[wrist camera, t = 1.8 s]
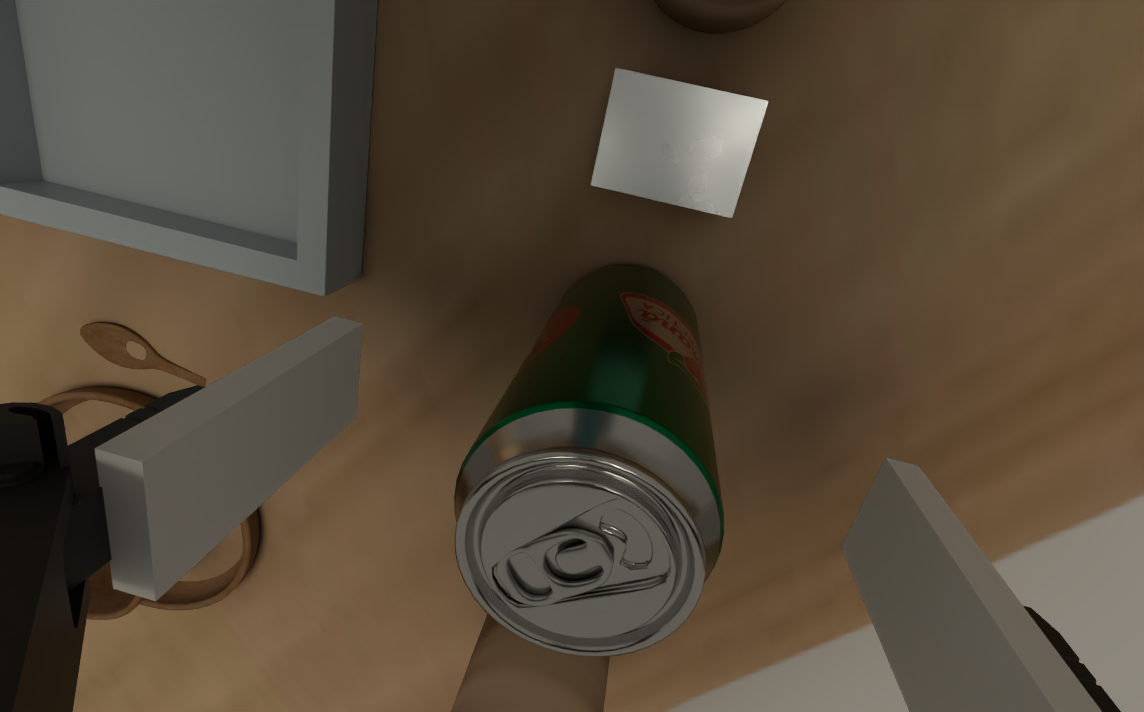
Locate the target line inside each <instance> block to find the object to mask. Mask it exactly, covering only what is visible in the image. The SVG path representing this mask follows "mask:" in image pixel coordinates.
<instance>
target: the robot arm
mask: <svg viewBox="0 0 1144 712" xmlns="http://www.w3.org/2000/svg"><path fill="white" fill-rule="evenodd" d="M362 329H363V323H360V322H356V321H352V320H348V319H344V318H340V317H336V316H333V317H332V318H330V319H328V320H326V321H324V322H323V323H321V324H319V325H317V326H315V327H314V328H312V329H310V330H308V331H306V332H304V333H303V334H301V335H299V336H297V337H295V338H294V339H292V340H290V341H288V342H286V343H285V344H283V345H281V346H279V347H277V348H275V349H274V350H272V351H270V352H268V353H266V354H265V355H263V356H261V357H259V358H257V359H256V360H254V361H252V362H250V363H248V364H247V365H245V366H243V367H241V368H239V369H237V370H236V371H234V372H232V373H230V374H228V375H227V376H225V377H223V378H221V379H219V380H218V381H216V382H214V383H212V384H210V385H209V386H207V387H202V386H198V385H197V386H193V387H190V388H186V389H182V390H179V391H175V392H171V393H168V394H166V395H164V396H162V397H160V398H158V399H157V400H155V401H153V402H151V403H149V404H147V405H145V408H144V409H143V408H139V409H137V410H136V411H134V412H132V413H130V414H128V415H126V418H125V419H123V418H120V419H118V420H116V421H115V422H113V423H111V424H109V425H107V426H105V427H103V428H101V429H99V430H97V431H95V432H94V433H92V434H90V435H88V436H86V437H84V438H82V439H80V440H78V441H76V442H74V443H72V444H71V445H69V446H67V439H66V433H65V426H64V420H63V416H62V412H60V411H59V410H57V409H55V408H54V407H52V406H48V405H43V404H38V403H5V404H0V712H72V711H73V705H74V698H75V692H76V685H77V678H78V672H79V665H80V659H81V652H82V645H83V639H84V632H85V625H86V619H87V612H88V606H89V599H90V588H89V581H88V577H90V576H91V575H92V574H94V573H95V572H96V571H98V570H99V569H100V568H101V567H103V566H104V565H105V564H107V563H108V562H109V561H110V568H111V576H112V583H113V589H116V590H119V591H123V592H126V593H129V594H133V595H136V596H139V597H143V598H146V599H150V600H153V601H157V600H158V599H159V598H160V597H161V596H162V595H163V594H164V593H166V592H167V591H168V590H169V589H170V588H171V587H172V586H173V585H174V584H175V583H176V582H178V581H179V580H180V579H181V578H182V577H183V576H184V575H185V574H186V573H187V572H188V571H190V570H191V569H192V568H193V567H194V566H195V565H196V564H197V563H198V562H199V561H200V560H202V559H203V558H204V557H205V556H206V555H207V554H208V553H209V552H210V551H211V550H212V549H214V548H215V547H216V546H217V545H218V544H219V543H220V542H221V541H222V540H223V539H224V538H226V537H227V536H228V535H229V534H230V533H231V532H232V531H233V530H234V529H235V528H236V527H238V526H239V525H240V524H241V523H242V522H243V521H244V520H245V519H246V518H247V517H248V516H250V515H251V514H252V513H253V512H254V511H255V510H256V509H257V508H258V507H259V506H260V505H262V504H263V503H264V502H265V501H266V500H267V499H268V498H269V497H270V496H271V495H272V494H274V493H275V492H276V491H277V490H278V489H279V488H280V487H281V486H282V485H283V484H284V483H286V482H287V481H288V480H289V479H290V478H291V477H292V476H293V475H294V474H295V473H296V472H298V471H299V470H300V469H301V468H302V467H303V466H304V465H305V464H306V463H307V462H308V461H310V460H311V459H312V458H313V457H314V456H315V455H316V454H317V453H318V452H319V451H320V450H322V449H323V448H324V447H325V446H326V445H327V444H328V443H329V442H330V441H331V440H332V439H333V438H335V437H336V436H337V435H338V434H339V433H340V432H341V431H342V430H343V429H344V428H345V427H347V426H348V425H349V424H350V423H351V422H352V421H353V420H354V419H355V418H356V414H357V400H358V386H359V372H360V358H361V343H362ZM841 548H842V550H843V553H844V555H845V558H846V560H847V562H848V565H849V567H850V570H851V572H852V574H853V577H854V579H855V582H856V584H857V587H858V589H859V591H860V594H861V596H862V599H863V601H864V603H865V606H866V608H867V611H868V613H869V615H870V618H871V620H872V623H873V625H874V627H875V630H876V632H877V634H878V637H879V639H880V642H881V644H882V646H883V649H884V651H885V653H886V656H887V658H888V661H889V663H890V666H891V668H892V671H893V673H894V675H895V678H896V680H897V683H898V685H899V687H900V690H901V692H902V695H903V697H904V699H905V702H906V704H907V707H908V709H909V712H1121V711H1120V710H1119V709H1118V708H1117V706H1116V705H1115V704H1114V702H1113V701H1112V700H1111V699H1110V698H1109V696H1108V695H1107V693H1106V692H1105V691H1104V690H1103V688H1102V687H1101V686H1098V685H1096V679H1095V678H1094V677H1093V675H1092V674H1091V673H1090V672H1089V671H1088V669H1087V668H1086V667H1085V665H1084V664H1081V663H1079V658H1078V656H1077V655H1076V654H1075V652H1074V651H1073V650H1072V649H1071V647H1070V646H1069V645H1068V643H1067V642H1066V641H1065V640H1064V638H1063V637H1062V636H1061V634H1060V633H1059V632H1058V631H1056V630H1055V629H1054V628H1053V627H1051V625H1050V624H1049V623H1047V622H1046V621H1045V620H1044V619H1043V618H1041V616H1040V615H1038V614H1037V613H1036V612H1035V611H1034V610H1033V609H1032V608H1029V607H1026V606H1023V605H1022V604H1021V603H1020V601H1019V600H1018V599H1017V597H1016V596H1015V595H1014V593H1013V592H1012V591H1011V589H1010V588H1009V587H1008V585H1007V584H1006V583H1005V581H1004V580H1003V579H1002V577H1001V576H1000V575H999V573H998V572H997V571H996V569H995V568H994V567H993V565H992V564H991V562H990V561H989V560H988V558H987V557H986V556H985V554H984V553H983V552H982V550H981V549H980V548H979V546H978V545H977V544H976V542H975V541H974V540H973V538H972V537H971V536H970V534H969V533H968V532H967V530H966V529H965V528H964V526H963V525H962V524H961V522H960V521H959V520H958V518H957V517H956V516H955V514H954V513H953V512H952V510H951V509H950V508H949V506H948V505H947V504H946V502H945V501H944V500H943V498H942V497H941V496H940V494H939V493H938V492H937V490H936V489H935V488H934V486H933V485H932V484H931V482H930V481H929V480H928V478H927V477H926V476H925V474H924V473H923V472H922V470H921V469H920V468H919V466H917V465H913V464H909V463H905V462H901V461H897V460H894V459H890V458H885V460H884V462H883V464H882V466H881V468H880V470H879V472H878V474H877V476H876V478H875V480H874V482H873V484H872V486H871V488H870V490H869V492H868V494H867V496H866V499H865V501H864V503H863V505H862V507H861V509H860V511H859V513H858V515H857V517H856V519H855V521H854V523H853V525H852V527H851V529H850V531H849V533H848V535H847V537H846V539H845V541H844V543H843V545H842V547H841Z"/></svg>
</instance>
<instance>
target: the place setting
mask: <svg viewBox="0 0 1144 712" xmlns="http://www.w3.org/2000/svg"><path fill="white" fill-rule="evenodd" d="M80 335H81V336H82V338H83V339H84V340H85V342H86V343H87V344H88V345H89V346H90V347H92V348H93V349H94V350H95V351H96V352H97V353H98V354H100V355H101V356H102V357H104V358H105V359H107V360H108V361H110V362H112V363H114V364H117V365H119V366H122V367H126V368H131V369H158V370H162V371H165V372H168V373H170V374H173V375H176V376H178V377H180V378H183V379H185V380H188V381H190V382H192V383H195V384H197V385H199V386H202V387H205V385H206V379H205V378H203V377H202V376H200V375H198V374H195V373H193V372H191V371H189V370H187V369H184V368H182V367H180V366H178V365H176V364H174V363H172V362H170V361H168V360H166V359H165V358H163V357H162V356H161V355H159V354H158V353H157V352H156V350H155V349H154V348H153V347H152V346H151V345H150V344H149V343H148V342H147V341H146V340H145V339H143V338H142V337H141V336H140V335H138V334H136V333H135V332H133V331H131V330H129V329H127V328H125V327H122V326H119V325H116V324H110V323H90V324H86V325H84V326H83V327H82V328H81V329H80ZM128 341H134V342H136V343H138V344H140V345H142V346H143V347H144V348H145V350H146V358H145V359H144V360H139V359H136V358H134V357H132V356H131V355H130V354H129V353H128V352H127V350H126V343H127V342H128ZM88 400H99V401H105V402H110V403H114V404H117V405H120V406H124V407H127V408H129V409H132V410H134V411H136V410H137V409H139V408H143V409H144V408H145V405H147V404H149V403H151V402H153V401H155V400H157V399H154V398H152V397H149V396H147V395H143V394H140V393H137V392H133V391H129V390H123V389H117V388H107V387H89V388H80V389H73V390H70V391H66V392H62V393H59V394H56V395H53V396H51V397H49V398H46V399H44V400H42V401H40V402H38V404H43V405H48V406H52V407H54V408H55V409H57V410H59V411H60V412H62V415H63V414H64V413H65V412H66V411H68V410H69V409H70V408H72V407H73V406H75V405H77V404H79V403H81V402H84V401H88ZM241 529H242V535H243V554H242V557H241V558H240V560H239V561H238V562H237V563H236V564H235V565H234V566H233V567H232V568H231V569H230V570H228V571H227V572H226V573H224V574H221V575H219V576H217V577H215V578H211V579H208V580H202V581H191V582H184V581H178V582H176V583H175V584H174V585H173V586H172V587H171V588H170V589H169V590H168V591H167V592H166V593H164V594H163V595H162V596H161V597H160V598H159V599H158V600H157V601H153V600H150V599H146V598H143V597H139V596H136V595H133V594H129V593H126V592H123V591H119V590H116V589H113V583H112V576H111V568H110V561H109V562H108V563H107V564H105V565H104V566H103V567H101V568H100V569H99V570H98V571H96V572H95V573H94V574H92V575H91V576H90V577H88V581H89V588H90V599H89V606H88V612H87V619H92V620H109V619H116V618H119V617H122V616H124V615H126V614H128V613H129V612H131V611H132V610H133V609H134V608H135V607H137V606H138V605H139V604H141V605H144V606H148V607H153V608H158V609H165V610H192V609H199V608H202V607H206V606H209V605H212V604H214V603H216V602H218V601H220V600H222V599H223V598H225V597H226V596H227V595H229V594H230V593H231V592H232V591H233V590H234V589H235V588H236V587H237V585H238V584H239V583H240V582H241V581H242V580H243V578H244V577H245V575H246V574H247V572H248V570H249V569H250V567H251V565H252V563H253V560H254V557H255V555H256V552H257V546H258V541H259V520H258V513H257V509H256V510H255V511H254V512H253V513H252V514H251V515H250V516H248V517H247V518H246V519H245V520H244V521H243V522H242V523H241Z"/></svg>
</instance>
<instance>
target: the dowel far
mask: <svg viewBox="0 0 1144 712" xmlns="http://www.w3.org/2000/svg"><path fill="white" fill-rule="evenodd" d="M609 657H610V656H607V657H585V656H575V655H569V654H563V653H559V652H556V651H552V650H548V649H545V648H542V647H540V646H537V645H535V644H533V643H530V642H528V641H526V640H524V639H522V638H520V637H519V636H517V635H515V634H513V633H511V632H510V631H509V630H507V629H506V628H504V627H503V626H502V625H500V624H499V623H497V622H496V621H495V620H494V619H493V618H492V617H491V616H490V615H489V614H487V616H486V619H485V622H484V625H483V627H482V630H481V633H480V635H479V638H478V641H477V643H476V646H475V649H474V651H473V654H472V657H471V659H470V662H469V665H468V667H467V670H466V673H465V675H464V678H463V681H462V684H461V686H460V689H459V692H458V694H457V697H456V700H455V702H454V705H453V708H452V710H451V712H603V710H604V701H605V692H606V683H607V675H608V666H609Z"/></svg>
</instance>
